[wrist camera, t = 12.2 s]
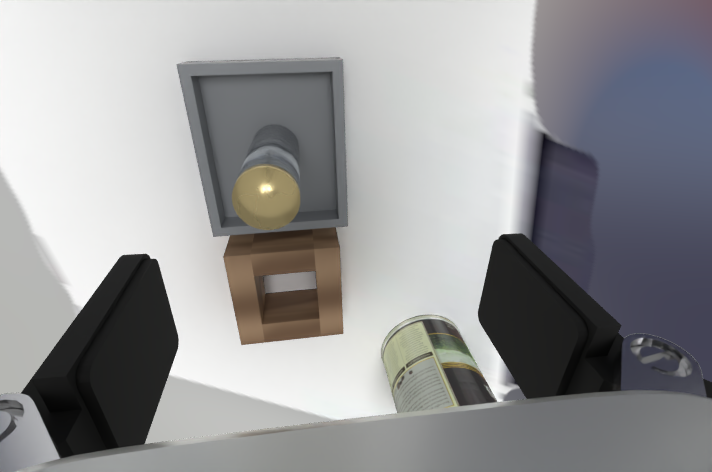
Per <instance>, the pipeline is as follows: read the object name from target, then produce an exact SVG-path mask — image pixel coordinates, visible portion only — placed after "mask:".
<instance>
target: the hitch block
mask: <svg viewBox="0 0 712 472" xmlns="http://www.w3.org/2000/svg"><path fill="white" fill-rule="evenodd" d="M223 257H224V262H225V267H226V272H227V277H228V282H229V287H230V291H231V296H232V301H233V306H234V311H235V316H236V321H237V326H238V330H239V335H240V340H241V345H246V344H255V343H264V342H273V341H282V340H291V339H300V338H309V337H318V336H328V335H337V334H343V315H342V291H341V268H340V247H339V242H338V237H337V232H336V228H335V227H332V228H319V229H306V230H293V231H280V232H267V233H254V234H241V235H230V238H229V241H228V244H227V247H226V250H225V253H224V256H223ZM308 271H316V283H317V289H310V290H299V291H289V292H278V293H268V294H265V288H264V281H263V276H264V275H275V274H286V273H297V272H308Z"/></svg>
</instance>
